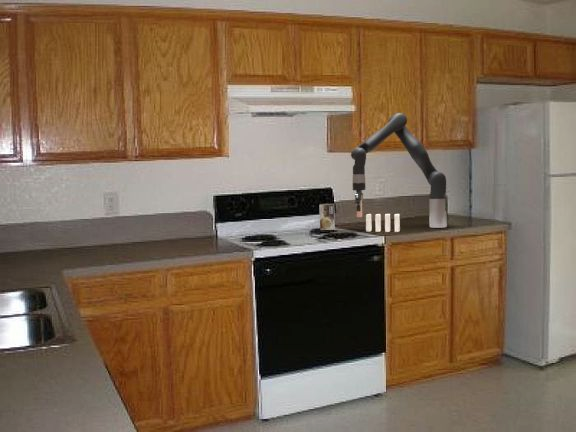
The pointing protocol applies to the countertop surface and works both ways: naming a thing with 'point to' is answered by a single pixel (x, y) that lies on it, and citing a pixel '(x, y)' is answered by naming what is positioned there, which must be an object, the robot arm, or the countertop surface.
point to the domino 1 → (359, 213)
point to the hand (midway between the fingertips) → (359, 210)
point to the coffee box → (327, 217)
